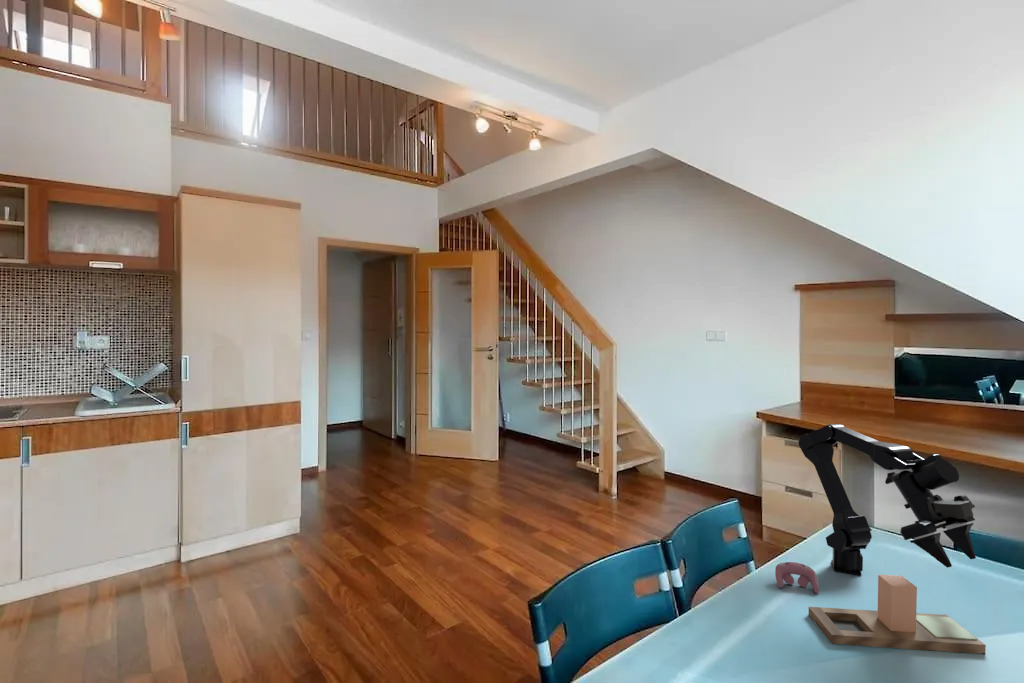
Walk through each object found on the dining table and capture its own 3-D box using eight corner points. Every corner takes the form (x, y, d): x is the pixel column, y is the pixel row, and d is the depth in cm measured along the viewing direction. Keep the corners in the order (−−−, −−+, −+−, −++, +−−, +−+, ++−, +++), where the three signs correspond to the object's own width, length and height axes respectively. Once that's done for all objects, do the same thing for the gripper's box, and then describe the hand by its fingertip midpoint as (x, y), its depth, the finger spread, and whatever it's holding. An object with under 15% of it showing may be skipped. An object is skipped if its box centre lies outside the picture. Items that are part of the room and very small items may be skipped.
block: (891, 630, 111) (891, 585, 110) (877, 617, 116) (878, 574, 115) (915, 632, 110) (916, 587, 110) (901, 619, 115) (902, 575, 115)
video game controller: (816, 594, 133) (814, 565, 135) (820, 594, 129) (818, 564, 131) (774, 588, 136) (773, 560, 139) (777, 588, 132) (775, 559, 135)
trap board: (831, 643, 109) (831, 633, 109) (808, 614, 120) (808, 605, 120) (985, 654, 106) (985, 643, 106) (946, 623, 117) (947, 613, 117)
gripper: (924, 490, 113) (973, 563, 106) (973, 478, 120) (1022, 546, 113) (882, 505, 122) (923, 574, 114) (929, 493, 129) (972, 557, 121)
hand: (961, 562), depth 115 cm, fingers open, 9 cm apart
